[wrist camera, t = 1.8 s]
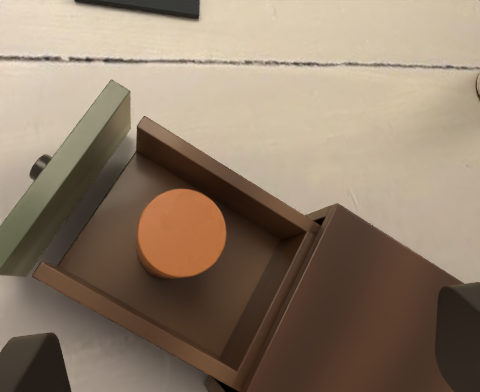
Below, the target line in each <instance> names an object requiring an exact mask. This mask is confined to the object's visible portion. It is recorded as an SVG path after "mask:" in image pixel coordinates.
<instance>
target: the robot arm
mask: <svg viewBox="0 0 480 392" xmlns="http://www.w3.org/2000/svg"><path fill="white" fill-rule="evenodd" d="M435 356H436V361H437V364H438V367H439V370H440V372H441V374H442V376H443V378H444V379H445V381H446V382H447V383H448V385H449V386H450V387H451V388H452V390H453V391H454V392H480V282H476V283H468V284H460V285H451V286H444V287H442V288H441V290H440V291H439V295H438V306H437V322H436V338H435ZM0 392H71V388H70V384H69V380H68V376H67V372H66V368H65V363H64V359H63V355H62V351H61V347H60V343H59V340H58V338H57V336H56V335H55V334H54V333H44V334H36V335H28V336H19V337H13V338H11V339H10V340H9V341H8V342H7V344H6V345H5V347H4V348H3V349H2V351H1V352H0Z"/></svg>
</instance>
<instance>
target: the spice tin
mask: <svg viewBox="0 0 480 392" xmlns="http://www.w3.org/2000/svg"><path fill="white" fill-rule="evenodd" d="M225 241H226V225H225V221H224V218H223V215H222V213H221V211H220V210H219V208H218V207H217V205H216V204H215V203H214V202H213V201H212V200H211V199H210V198H208V197H207V196H205V195H203V194H202V193H200V192H197V191H194V190H190V189H174V190H170V191H166V192H164V193H162V194H160V195H158V196H157V197H155V198H154V199H153V200H151V202H150V203H149V204H148V205H147V206H146V207H145V209H144V210H143V212H142V214H141V216H140V219H139V222H138V228H137V238H136V254H137V258H138V260H139V262H140V264H141V265H142V267H143V268H144V269H145V270H146V271H147V272H148V273H150V274H151V275H153V276H155V277H158V278H162V279H174V278H184V277H191V276H195V275H198V274H200V273H202V272H204V271H206V270H207V269H209V268H210V267H211V266H212V265H213V264H214V263H215V262H216V261H217V260H218V258H219V257H220V255H221V253H222V251H223V249H224V246H225Z"/></svg>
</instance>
